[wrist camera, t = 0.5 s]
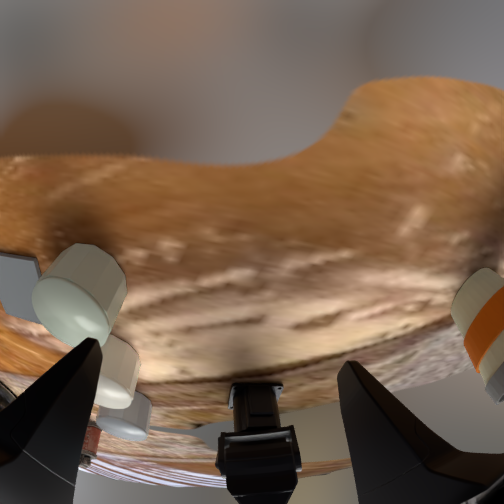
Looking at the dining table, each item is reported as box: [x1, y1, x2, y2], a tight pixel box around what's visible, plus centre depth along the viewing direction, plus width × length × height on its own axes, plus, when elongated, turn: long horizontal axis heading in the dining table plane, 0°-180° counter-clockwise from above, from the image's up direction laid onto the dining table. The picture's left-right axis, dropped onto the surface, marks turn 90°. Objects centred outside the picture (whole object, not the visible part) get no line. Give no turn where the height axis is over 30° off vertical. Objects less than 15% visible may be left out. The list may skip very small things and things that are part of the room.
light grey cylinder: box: [96, 391, 152, 441], centre depth 30 cm, size 7×7×6 cm
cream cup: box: [94, 335, 141, 409], centre depth 25 cm, size 7×7×6 cm
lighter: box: [79, 422, 102, 468], centre depth 35 cm, size 8×3×10 cm, turn 124°
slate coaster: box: [0, 252, 43, 325], centre depth 22 cm, size 9×9×1 cm
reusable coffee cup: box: [451, 268, 504, 405], centre depth 22 cm, size 12×13×15 cm
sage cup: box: [32, 243, 127, 348], centre depth 20 cm, size 7×7×6 cm
